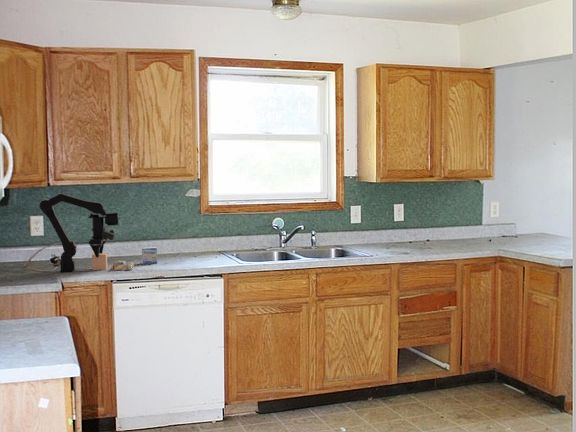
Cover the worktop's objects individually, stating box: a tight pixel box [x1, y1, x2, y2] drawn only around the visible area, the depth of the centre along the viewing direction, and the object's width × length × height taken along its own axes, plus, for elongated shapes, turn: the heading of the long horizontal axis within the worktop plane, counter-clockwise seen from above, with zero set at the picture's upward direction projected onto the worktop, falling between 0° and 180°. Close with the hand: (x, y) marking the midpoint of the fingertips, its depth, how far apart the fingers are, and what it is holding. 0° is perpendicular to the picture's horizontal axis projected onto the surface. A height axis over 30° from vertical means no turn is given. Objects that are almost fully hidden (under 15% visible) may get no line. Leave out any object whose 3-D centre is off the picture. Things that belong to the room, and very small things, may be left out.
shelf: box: [111, 261, 135, 272], centre depth 360 cm, size 10×11×3 cm
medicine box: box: [141, 246, 158, 265], centre depth 375 cm, size 8×4×9 cm, turn 106°
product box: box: [91, 253, 109, 271], centre depth 359 cm, size 7×4×8 cm, turn 94°
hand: (99, 255), depth 359 cm, fingers open, 9 cm apart
